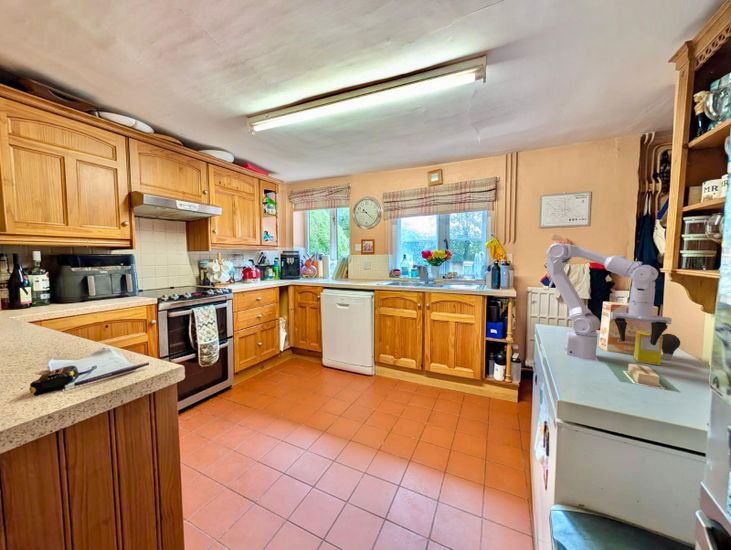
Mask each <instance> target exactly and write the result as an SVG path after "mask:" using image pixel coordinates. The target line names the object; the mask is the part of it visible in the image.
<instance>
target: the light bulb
mask: <svg viewBox="0 0 731 550" xmlns="http://www.w3.org/2000/svg"><path fill="white" fill-rule="evenodd" d="M661 336H663V341H662V352H661V353H662V359H663V360H667V361H671V360H673V355H674V354H675V351H677V350H678V348H679V347H680V346H681V341H680V338H679V337H677V336H676V335H675V334H673V333H662V334H661Z"/></svg>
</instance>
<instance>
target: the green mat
mask: <svg viewBox="0 0 731 550" xmlns="http://www.w3.org/2000/svg"><path fill="white" fill-rule="evenodd" d="M604 363H605V364H606V366H607V367H608V368H609V370H610V371H611V372H612V373H613V375H614V376H615V377H616V378H617V379H618V381H619V382H621V383H627V384H631V385H632V384H633V385H637V386H642V387H643V386H644V387H647V388H648V387H649V388H654V389H661V390H665V391H671V392H678V393H681V391H680V390H679V389H678V388H676V386H675V385H673V383H671V382H670V381H668V380H667V379H666V378H665V377H664V376H663V375H662V374H660V373H659V372H658V371H657V370H655V369H651V368H650V369H651V370H652V371H653V372H655V373H656V374H657V375H658V376H659V377H660V379H659V387H655V386H650V385H644V384H638V383H637V382H636V381H635V380H634V379H633V378H632V377H631V375H630V374H629V373H628V366H629V364H628V365H626V364H620V363H614V362H610V361H609V362H608V361H605V362H604Z"/></svg>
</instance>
